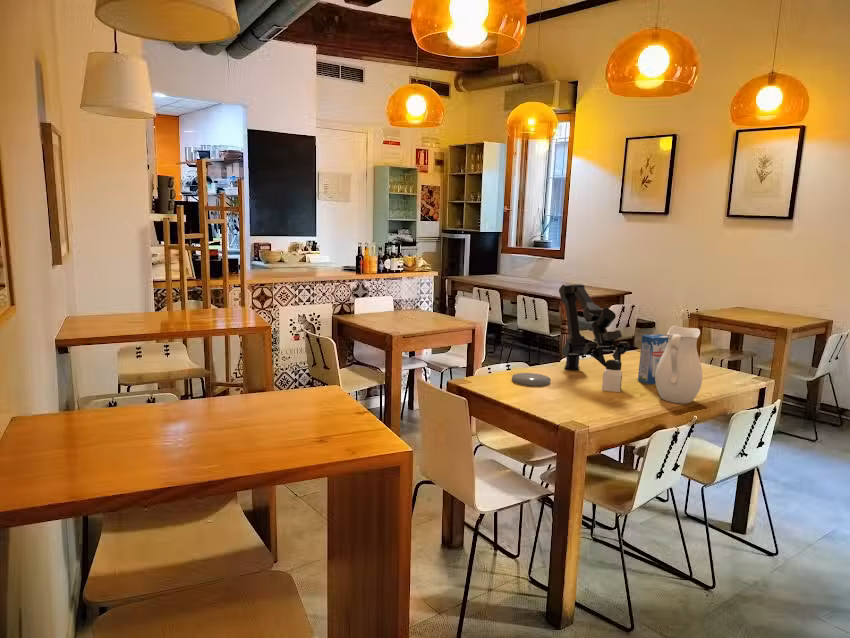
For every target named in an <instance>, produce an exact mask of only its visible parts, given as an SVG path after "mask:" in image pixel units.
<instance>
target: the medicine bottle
mask: <svg viewBox="0 0 850 638" xmlns="http://www.w3.org/2000/svg"><path fill="white" fill-rule="evenodd" d="M605 361H606V360H605ZM606 365H607V366H606V367H605V369H604V371H603V374H602V385H601V391H604V392H605V391H606V392H613V393H621V390H622V382H623V381H622V378H623V371H622V361H621V362H620V361H618V360H615V359H608V360H607V361H606Z"/></svg>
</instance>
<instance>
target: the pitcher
mask: <svg viewBox="0 0 850 638" xmlns="http://www.w3.org/2000/svg"><path fill="white" fill-rule="evenodd" d="M700 335H701V330H700V329H699V328H697V327H683V326H679V325H671V326H670V327H669V329H668V331H667V333H666V336H668V344H667V347H666V349H665V351H664V353H663V355H662V356H661V358H660V360H659V363H658V365H657V368H656V373H655V383H656V384H655V387H656V390H657V392H658V394H659V396H660V398H661V399H662V400H664V401H666V402H670V403H673V404H683V405H684V404H690V403H691V402H693V400H694V399H695V398H696V397H697V396H698V394H699V393H700V390H701V387H702V383H703V368H702V363H701V360H700V355H699V353H698V349H697V344H698V343H697V342H698V339H699V338H700Z"/></svg>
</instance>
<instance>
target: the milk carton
mask: <svg viewBox="0 0 850 638" xmlns="http://www.w3.org/2000/svg"><path fill="white" fill-rule="evenodd" d="M640 343H641V345H640V354H639V363H638V365H639V366H638V375H637V376H638V377H637V381H638V380H639V381H638V382H640V381H641V383H643V382H644V384H645V383H646V385H656V383H655V373H656V368H657V365H658V363H659V360H660V358H661V356H662V355H663V353H664V351H665V349H666V347H667V344H668V336H667V335H664V334H645V335H644V334H643V335H641V342H640Z"/></svg>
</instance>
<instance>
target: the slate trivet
mask: <svg viewBox="0 0 850 638" xmlns="http://www.w3.org/2000/svg"><path fill="white" fill-rule="evenodd" d="M511 382H513V383H514V384H516V383H517V385H519V384H520V385H519V386H524V385H526V387H533V386H537V387H538V388H539V387H547V386H549V385H551V378H550V377H549V376H547V375H545V374H540V373H534V372H519V373H514V374H512V375H511Z"/></svg>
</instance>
